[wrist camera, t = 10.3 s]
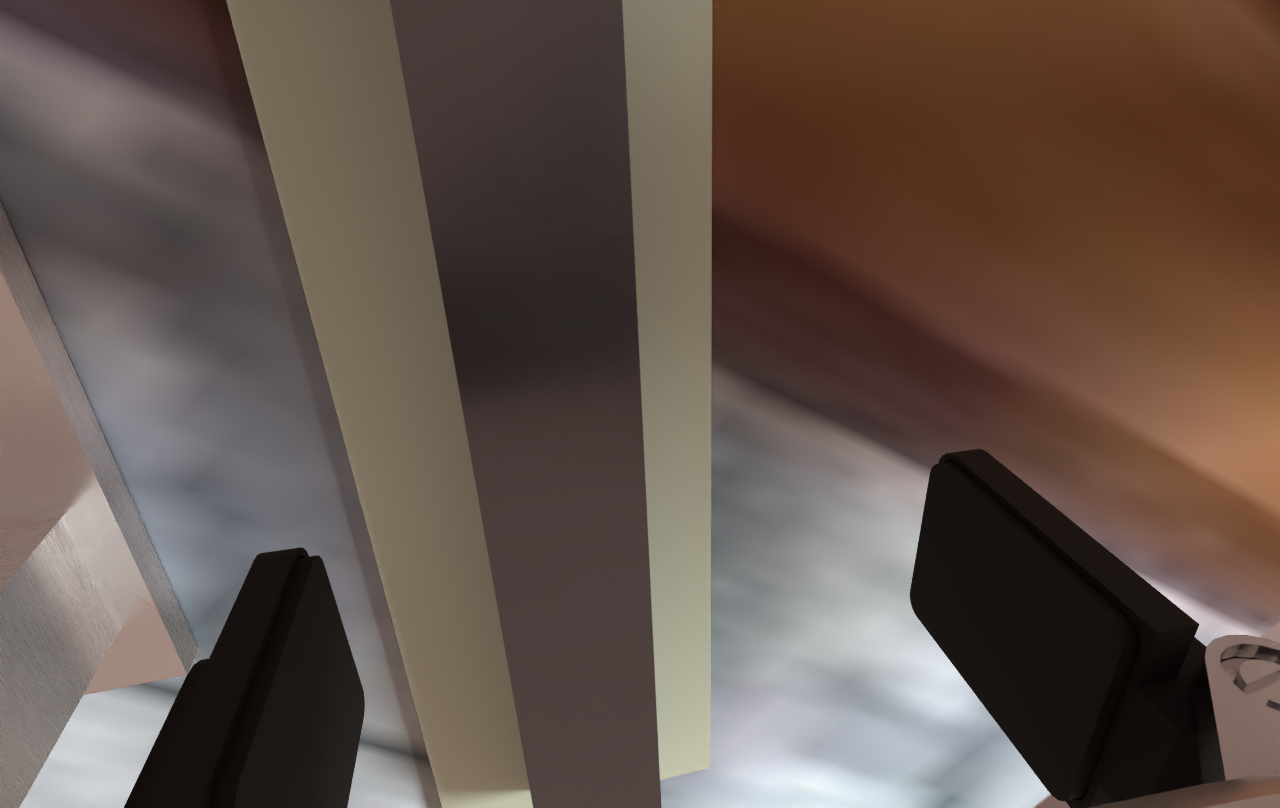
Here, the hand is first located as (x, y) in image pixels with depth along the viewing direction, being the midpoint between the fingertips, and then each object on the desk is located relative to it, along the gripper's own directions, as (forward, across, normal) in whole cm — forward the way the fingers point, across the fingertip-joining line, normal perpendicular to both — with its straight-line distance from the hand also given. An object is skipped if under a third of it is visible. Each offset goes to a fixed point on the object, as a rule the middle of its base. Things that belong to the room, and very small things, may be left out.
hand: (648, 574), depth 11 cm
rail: (+6, +1, 0) cm, 6 cm away
